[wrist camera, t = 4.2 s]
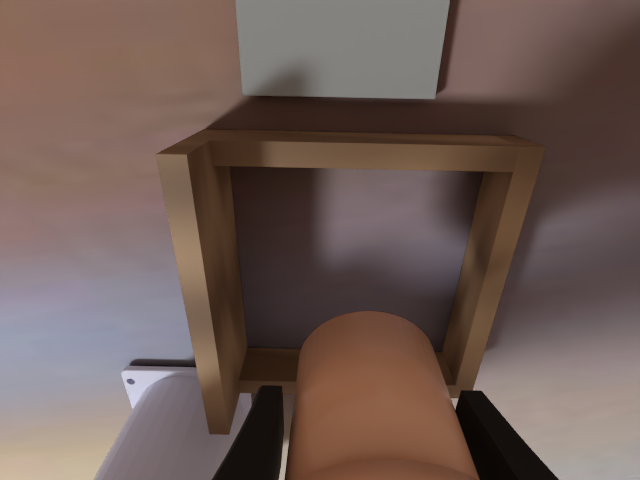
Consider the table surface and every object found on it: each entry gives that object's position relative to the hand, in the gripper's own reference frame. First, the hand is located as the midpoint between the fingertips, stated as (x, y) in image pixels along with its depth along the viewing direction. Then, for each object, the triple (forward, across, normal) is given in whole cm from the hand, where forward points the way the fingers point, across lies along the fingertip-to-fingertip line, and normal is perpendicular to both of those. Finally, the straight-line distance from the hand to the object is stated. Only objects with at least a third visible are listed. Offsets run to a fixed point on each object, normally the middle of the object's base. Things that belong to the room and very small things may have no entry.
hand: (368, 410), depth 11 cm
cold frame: (+9, 0, 0) cm, 9 cm away
